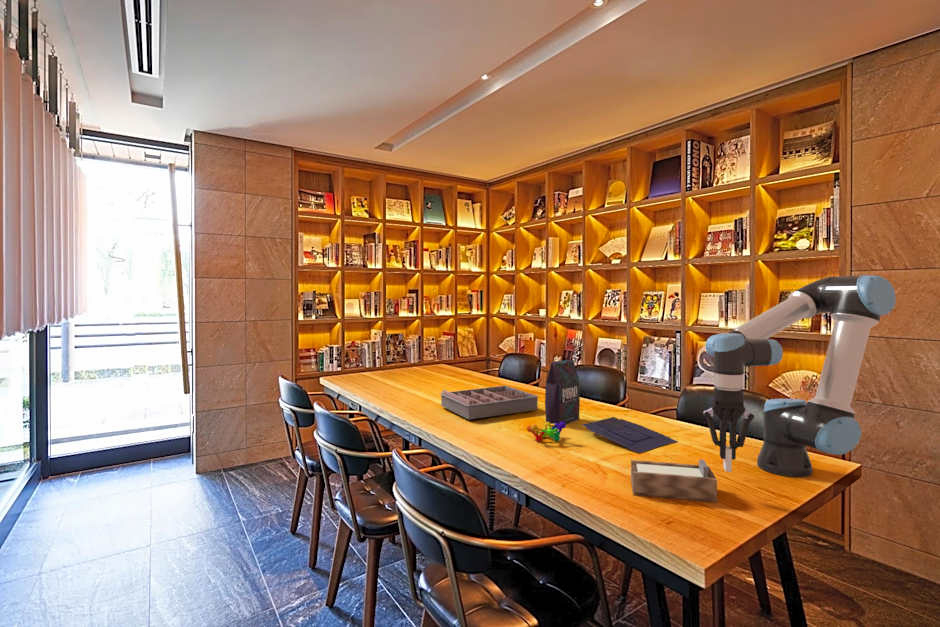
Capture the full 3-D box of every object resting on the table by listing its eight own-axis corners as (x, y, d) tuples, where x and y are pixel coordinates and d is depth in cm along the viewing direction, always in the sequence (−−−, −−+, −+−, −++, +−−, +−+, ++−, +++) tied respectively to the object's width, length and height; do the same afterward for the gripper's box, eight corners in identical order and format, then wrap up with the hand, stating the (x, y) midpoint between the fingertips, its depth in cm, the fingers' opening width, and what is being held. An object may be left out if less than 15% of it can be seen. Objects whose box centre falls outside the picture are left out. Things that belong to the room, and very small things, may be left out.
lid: (704, 471, 142) (704, 458, 142) (709, 481, 134) (710, 468, 134) (636, 466, 147) (636, 453, 147) (638, 475, 139) (638, 462, 139)
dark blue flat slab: (615, 422, 212) (616, 414, 211) (677, 447, 187) (678, 439, 186) (577, 431, 198) (577, 423, 198) (637, 460, 173) (639, 451, 173)
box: (708, 487, 143) (708, 465, 143) (716, 502, 132) (717, 479, 132) (630, 480, 149) (631, 459, 149) (633, 494, 138) (633, 472, 138)
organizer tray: (539, 412, 236) (539, 392, 236) (467, 423, 218) (467, 401, 217) (505, 399, 264) (505, 382, 264) (439, 408, 246) (439, 389, 246)
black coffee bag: (580, 420, 220) (580, 359, 219) (559, 427, 209) (558, 363, 208) (565, 416, 226) (565, 358, 225) (544, 423, 215) (543, 361, 214)
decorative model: (525, 425, 197) (560, 415, 197) (531, 447, 195) (566, 437, 195) (527, 426, 184) (564, 415, 185) (533, 449, 183) (571, 438, 183)
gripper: (750, 386, 137) (749, 467, 138) (700, 384, 141) (699, 463, 142) (758, 391, 130) (757, 476, 131) (706, 389, 133) (705, 472, 134)
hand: (727, 469), depth 136 cm, fingers closed
